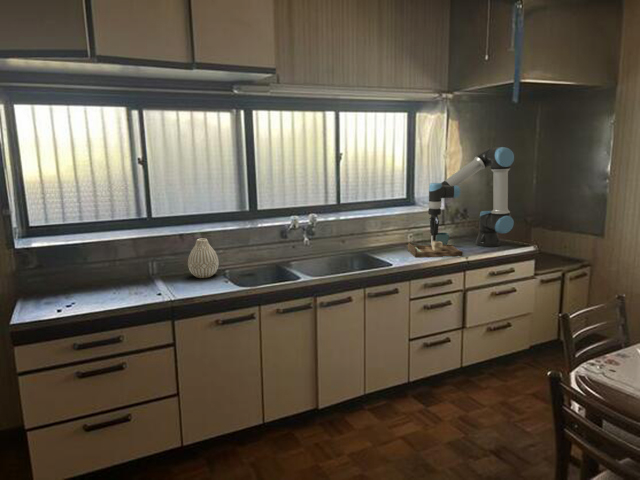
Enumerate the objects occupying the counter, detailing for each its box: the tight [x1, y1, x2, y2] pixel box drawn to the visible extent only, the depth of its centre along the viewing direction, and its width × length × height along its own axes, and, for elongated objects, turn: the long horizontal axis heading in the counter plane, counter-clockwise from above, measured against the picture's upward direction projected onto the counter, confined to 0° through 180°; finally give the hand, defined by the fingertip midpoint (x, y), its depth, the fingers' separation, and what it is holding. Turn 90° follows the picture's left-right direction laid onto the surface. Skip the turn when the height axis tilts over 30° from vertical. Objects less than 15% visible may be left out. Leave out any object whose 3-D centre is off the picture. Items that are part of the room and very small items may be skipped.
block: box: [432, 241, 443, 251], centre depth 303 cm, size 5×5×5 cm
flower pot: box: [436, 232, 450, 245], centre depth 324 cm, size 9×9×9 cm
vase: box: [187, 237, 220, 279], centre depth 258 cm, size 16×16×20 cm
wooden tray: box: [407, 243, 463, 258], centre depth 305 cm, size 29×20×5 cm
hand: (433, 245), depth 306 cm, fingers closed
